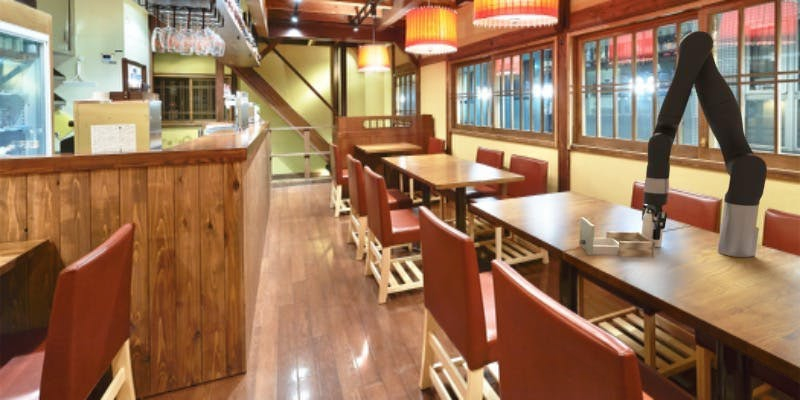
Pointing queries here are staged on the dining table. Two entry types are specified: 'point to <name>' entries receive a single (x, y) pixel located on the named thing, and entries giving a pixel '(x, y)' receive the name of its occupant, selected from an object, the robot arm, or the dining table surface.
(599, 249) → the bracket
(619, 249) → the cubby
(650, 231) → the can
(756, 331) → the dining table surface
